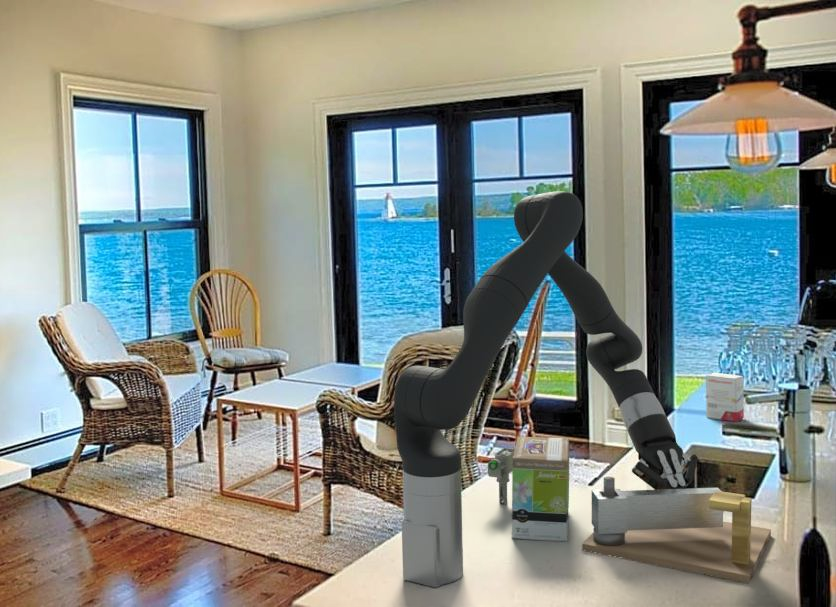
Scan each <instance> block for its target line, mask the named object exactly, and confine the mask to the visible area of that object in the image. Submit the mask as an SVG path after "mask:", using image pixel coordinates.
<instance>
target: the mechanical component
mask: <svg viewBox="0 0 836 607" xmlns="http://www.w3.org/2000/svg"><path fill="white" fill-rule="evenodd" d="M514 451H515V447H514V448H513V447H503V448H501V449H500V450H498V451H497V452H495V453H494V458H492V459H491V460H489V461H488V463H487V475H488V477H492V478H496V479H495V480H496V482H497V483H498V498H499V499H498V502H499V503H500V504H501V503H502V504H503V505H504V504H506V503H507V504H508V483H510V480H511V479H510V474H511V473H512V468H513V455H514ZM499 503H498V504H499ZM507 504H506V505H507Z"/></svg>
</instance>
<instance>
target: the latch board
mask: <svg viewBox="0 0 836 607" xmlns="http://www.w3.org/2000/svg"><path fill="white" fill-rule="evenodd" d="M615 480H616V479H615V477H613V476H604V477H603V489H604V497H615V489H616V488H615V485H616V484H615ZM752 500H753V499H752V497H746V494H741V493H733V492H728V491H727V492H726V491H722V490H721V491H715V493H714V494H713V495H712V497H711V498H710V499H709V509H714V510H721V511H723V512H728V513H731V517H732V518H731V519H732V520H731V522H729V521H723V527H714V528H685V529H657V530H629V531H627V533H616V534H598V533H597V531H596V529H595V528H594V527H593V532H592V533H591V534H590V535H589V536H588V537H587V538H586V539H585V540H583V542H582V544H581V551H583V550H586V551H585V552H588V551H592V552H591V553H593V552H596V553H595V554H598V553H601V554H600V555H603V554H605V555H604V556H608V555H611V556H610V557H613V556H616V557H615V558H618V557H622V558H621V559H623V558H625V559H624V560H628V559H629V561H634V562H639V563H645V564H649V565H654V566H660V567H665V568H671V569H675V570H680V571H684V572H690V573H695V574H700V575H704V574H706V575H705V576H709V575H710V577H713V578H714V577H716V578H720V579H724V578H725V580H730V581H735V582H741V583H745V584H750V581H751V579H752V577H753V576H754V575H753V574H754V573H753V572H755V571H756V569H755V568H757V567H758V564H759V562H760V560H761V558H762V556H763V554H762V553H764V552H765V549H766V547H767V545H768V543H769V541H770V538H771V534H772V533H771V532H772V529H770V528H765V527H758V526H753V525H752ZM763 551H764V552H763ZM761 555H762V556H761ZM760 557H761V558H760ZM759 559H760V560H759ZM758 561H759V562H758ZM756 566H757V567H756ZM754 570H755V571H754Z"/></svg>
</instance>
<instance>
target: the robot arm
mask: <svg viewBox="0 0 836 607" xmlns="http://www.w3.org/2000/svg"><path fill="white" fill-rule="evenodd" d="M583 210H584V209H583V205H582V203H581V200H580V199H579V197H578V196H577V195H575V193H572V192H570V191H565V190H559V191H557V190H555V191H549V192H544V193H543V192H542V193H539V194H533V195H529V196H525V197H522V198H521V199H520V200H518V202H517V204H516V206H515V209H514V212H513V222H514V227H515V230H516V232H517V234H518V236H519V237H520V239H521V241H522V242H521V243H520V244H519V245H518V246H517V247H515V248H513V250H511V251H510V252H508V253H507V254H506V255H504V256H503V257H501V258H500V259H499V260H497V261H496V262H495V263H493V264H492V265H491V266H489V267H488V269H487V270H486V271H485V272H484V273H483V274H482V276H480V278H479V279H478V281H477V283H476V284H475V285H474V287H473V288H472V290H471V292H470V293H469V295H468V296H467V298H466V300H465V302H464V305H463V313H462V318H463V319H462V324H463V342H462V345H461V346H460V348H459V350H458V352H457V353H456V355H455V357H454V358H453V360H452V361H451V362H450V363H449V365H448V366H447V367H445V368H439V367H432V366H425V365H411V366H409V367H407V368H405V369H404V370H403V371H402V372H401V374H399V377H398V379H397V382H396V385H395V388H394V395H393V411H394V412H393V413H394V414H393V415H394V425H395V435H396V447H397V451H398V454H399V456H400V458H401V463H402V494H403V495H402V498H403V500H402V501H403V521H402V522H401V545H402V546H401V547H402V548H401V549H402V550H401V551H402V580H404V581H408V582H411V583H416V584H420V585H424V586H428V587H433V588H438V587H439V586H441V585H446V584H450V583H453V582H455V581H457V580H459V579H460V578H462V576H464V574H463V573H464V553H463V552H464V551H463V550H464V549H463V547H464V546H463V508H462V507H463V506H462V500H463V499H462V497H463V496H462V455H461V452H460V450H459V448H458V447H457V446H456V445H454V444H453V443H452V442H450V441H449V440H448V439H447V438H446V437H445V436H444V435H443V433H442V432H441V430H442V431H448V430H453V429H455V428H457V427H458V426H460V424H461V423H462V422H463V421H464V420H465V419H466V417H467V416H468V414H469V413H470V410H471V408H472V406H474V405H473V404H474V403H475V401H476V398H477V397H478V394H479V392H480V390H481V389H482V385H483V383H484V382H485V380H486V378H487V375H488V373H489V371H490V369H491V367H492V365H493V363H494V362H495V360H496V358H497V356H498V354H499V353H500V351H501V350H502V347H503V346H504V344H505V342H506V341H507V339H508V337H509V335H511V333H512V331H513V330H514V328H515V327H516V325H517V323H519V321H520V319H521V318H522V317H523V314H524V313H525V311H526V309H527V307H528V306H529V304H530V302H531V300H532V299H533V297H534V295H535V294H536V293H537V290H538V289H539V288H540V286H541V284H542V283H543V282H544V280H545V278H546V277H547V275H548V276H549V277H550V279H551V280H552V281H553V282H554V283H555V285H556V286H557V288H558V289H559V290H560V291H561V294H562V295H563V297H564V298H565V300H566V302H567V304H568V305H569V307H570V309H571V311H572V313H573V314H574V316H575V318H576V320H577V322H578V324H579V326H580V327H581V329H582V330H583V332H584V333H585V334H587V335H590V336H593V335H601V336H600V337H597V338H595V339H593V340H591V341H589V342H588V343H587V346H586V350H585V355H586V359H587V361H588V362H589V364H590V365H591V367H592V368H593V369H594V370H595V371H596V372H597V373H598V374H599V375H600V377H601V378H602V379H603V381H604V382H605V383H606V384H607V386H608V388H609V390H610V392H611V393H612V395H613V398H614V399H615V403H616V405H617V406H618V409H619V412H620V416H621V419H622V422H623V424H624V427H625V428H626V431H627V432H628V435H629V438H630V440H631V442H632V445H633V448H634V450H635V452H636V453H638V455H637V456H638V457H637V458H638V461H637V462H636V463H635V465H634V466H633V468H631V473H632V474H633V475H635V476H636V477H638V478H639V479H640V480H642V481H643V482H644V483H645V484H647V485H648V486H649V487H651V488H652V490H662V489H687V487H688V486H689V485H690V484H691V483H692V482H693V480H694V476H695V473H696V469H697V468H696V467H697V465H698V464H697V463H698V461H699V457H698V455H696V454H691V455H689V454H687V453H685V452H684V450H683V449H682V447H681V446H680V445H679V444H678V442H677V438H676V434H675V431H674V430H673V427H672V426H671V423H670V422H669V419H668V417H667V415H666V413H665V411H664V407H663V406H662V404H661V403H660V401H659V399H658V398H657V397H656V395H655V392H654V390H653V388H652V386H651V384H650V382H649V379H648V378H647V375H646V374H645V373H644V372H643V371H642V370H641V369H638V368H630V369H625V370H618V369H620V368H622V367H624V366H625V367H626V366H627V365H628V364H629V365H630V364H631V363H634V362H636V361H637V360H639V359H640V358H641V357H642V353H643V344H642V341H641V339H640V338H639V336H638V335H637V334H636V333H635V331H634V330H632V329H631V328H630V326H628V324H626V323H625V322H624V321H623V320H622V319H621V318H620V316H619V315H618V313H616V312H617V311H615V309H614V307H613V305H612V303H611V301H610V299H609V297H608V295H607V293H606V292H605V289H604V288H603V286H602V285H601V283H600V282H599V281H598V280H597V279H596V277H594V276H593V275H592V273H591V272H589V271H587V270H586V269H585V268H584V267H583V266H582V265H580V264H579V263H578V262H576V260H574V259H573V258H572V257H571V256H570V255H569V254H568V253H567V252H566V250H567V249H568V248H569V246H570V245H571V244H572V243H573V241H574V239H576V237H577V235H578V234H579V231H580V230H581V226H582V223H583V217H584V212H583ZM602 334H604V335H602ZM681 465H682V467H683V469H682V467H681Z"/></svg>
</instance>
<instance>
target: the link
mask: <svg viewBox="0 0 836 607" xmlns="http://www.w3.org/2000/svg"><path fill="white" fill-rule="evenodd" d="M715 491H722V490H721V489H720V488H719V487H695V488H694V487H692V488H686V489H662V490H655V489H640V490H632V489H631V490H621V488H615V497H604V488H603V489H601V488H599V489H598V488H597V489H591V524H592V527H593V528H595V529H596V531H597V533H598V534H616V533H627V531H629V530H657V529H685V528H714V527H723V522H724V511H721V510H714V509H709V499H710V498H711V497H712V495H713V494H714V493H715Z"/></svg>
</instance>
